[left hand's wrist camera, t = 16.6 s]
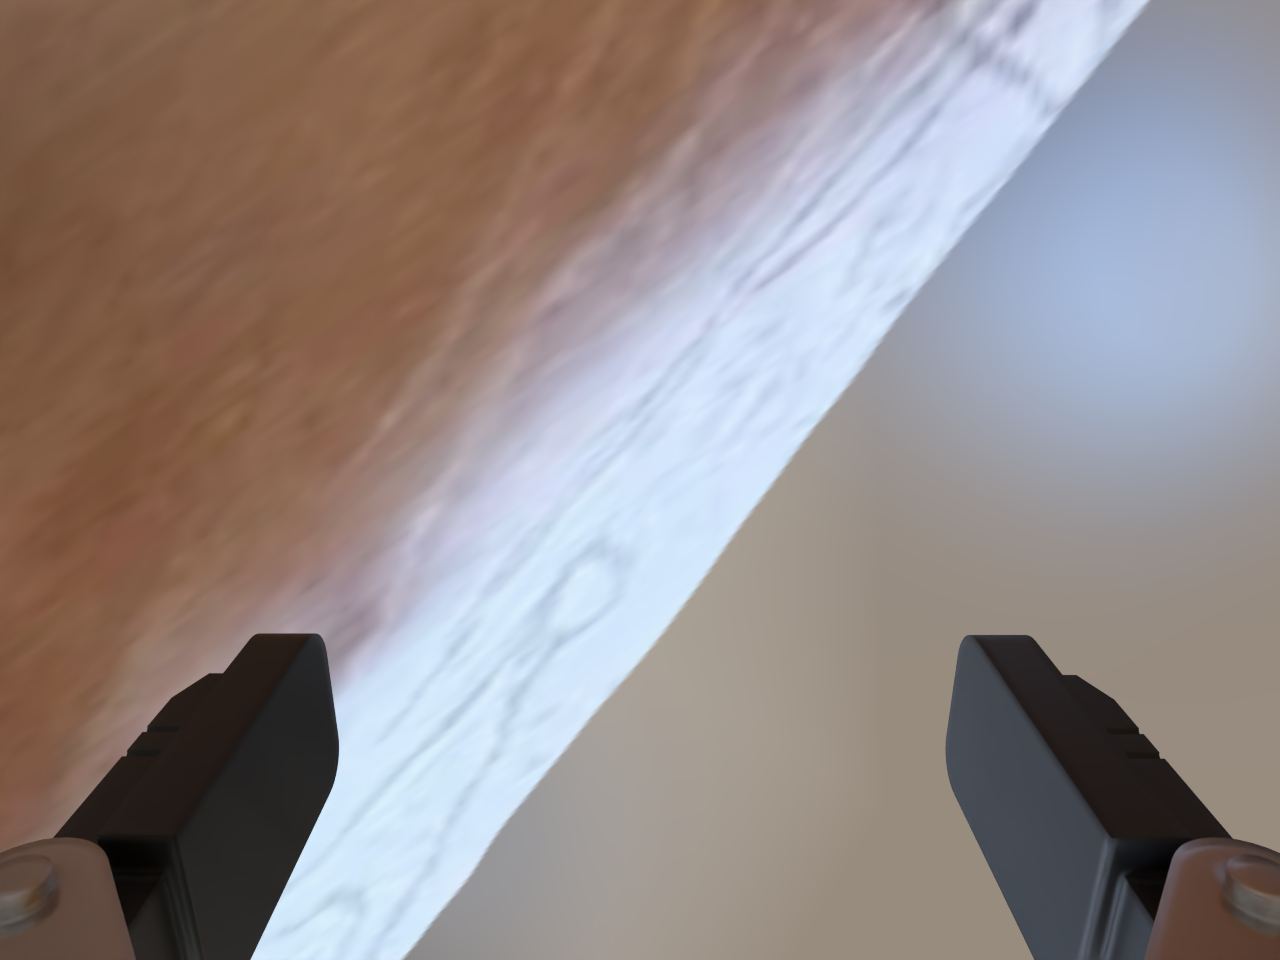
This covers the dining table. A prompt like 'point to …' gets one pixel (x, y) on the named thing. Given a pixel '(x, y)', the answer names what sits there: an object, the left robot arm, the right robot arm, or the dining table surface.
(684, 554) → the dining table surface
